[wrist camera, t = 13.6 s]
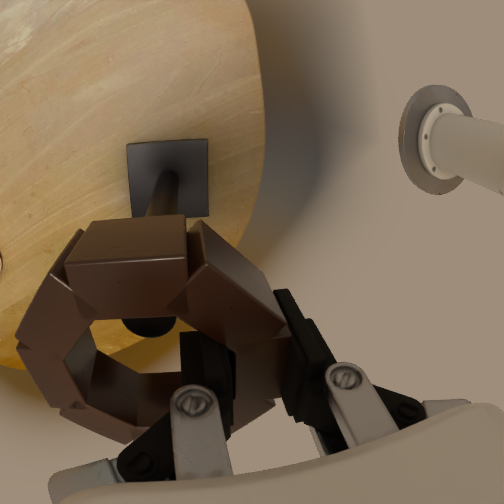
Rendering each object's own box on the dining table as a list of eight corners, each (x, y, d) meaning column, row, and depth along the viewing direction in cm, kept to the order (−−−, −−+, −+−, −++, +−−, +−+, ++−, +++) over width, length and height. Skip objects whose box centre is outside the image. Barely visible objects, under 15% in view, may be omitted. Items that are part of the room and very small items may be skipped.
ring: (273, 209, 10) (305, 247, 8) (260, 386, 14) (276, 435, 12) (21, 227, 9) (-20, 269, 6) (85, 395, 13) (77, 444, 10)
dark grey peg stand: (207, 138, 33) (260, 203, 11) (207, 213, 37) (252, 377, 15) (128, 143, 31) (23, 222, 9) (134, 218, 35) (82, 387, 13)
